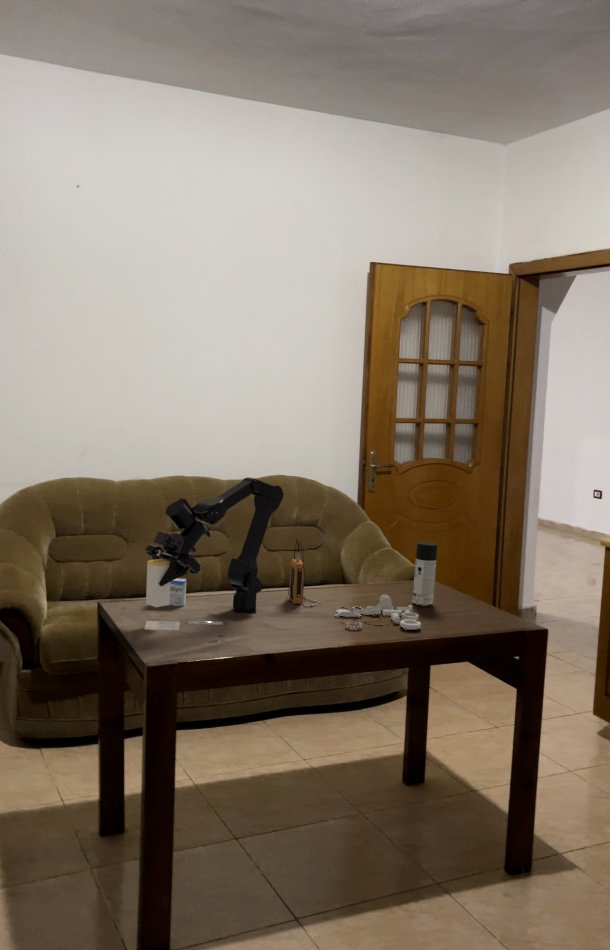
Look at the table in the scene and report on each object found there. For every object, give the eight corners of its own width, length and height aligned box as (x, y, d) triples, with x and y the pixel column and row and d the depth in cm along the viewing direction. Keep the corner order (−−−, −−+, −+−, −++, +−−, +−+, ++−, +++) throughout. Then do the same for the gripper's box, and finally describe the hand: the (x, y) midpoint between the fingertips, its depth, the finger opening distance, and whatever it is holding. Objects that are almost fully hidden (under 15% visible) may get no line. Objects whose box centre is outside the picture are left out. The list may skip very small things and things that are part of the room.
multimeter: (327, 607, 273) (331, 544, 271) (295, 607, 271) (299, 544, 269) (316, 596, 288) (320, 535, 286) (286, 596, 285) (289, 535, 283)
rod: (222, 626, 247) (222, 620, 246) (222, 628, 245) (222, 622, 245) (186, 625, 245) (186, 620, 245) (186, 627, 244) (186, 621, 244)
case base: (183, 624, 247) (183, 620, 246) (182, 634, 237) (182, 631, 237) (143, 623, 245) (143, 619, 245) (140, 633, 235) (140, 630, 235)
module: (159, 601, 243) (160, 558, 242) (169, 604, 240) (171, 561, 239) (146, 603, 240) (147, 560, 239) (156, 607, 237) (157, 563, 236)
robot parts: (338, 632, 250) (339, 614, 249) (331, 609, 275) (332, 592, 274) (425, 635, 251) (426, 617, 251) (410, 611, 276) (411, 595, 275)
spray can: (414, 600, 289) (418, 540, 287) (435, 603, 287) (439, 542, 284) (410, 604, 283) (414, 543, 280) (430, 607, 280) (435, 546, 278)
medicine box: (157, 608, 261) (158, 580, 261) (159, 604, 266) (160, 576, 265) (184, 609, 262) (185, 581, 261) (185, 606, 266) (186, 578, 265)
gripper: (151, 516, 247) (117, 559, 240) (194, 526, 234) (159, 572, 227) (172, 540, 253) (139, 583, 247) (215, 551, 241) (182, 597, 234)
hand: (154, 583), depth 238 cm, fingers closed on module, 4 cm apart
